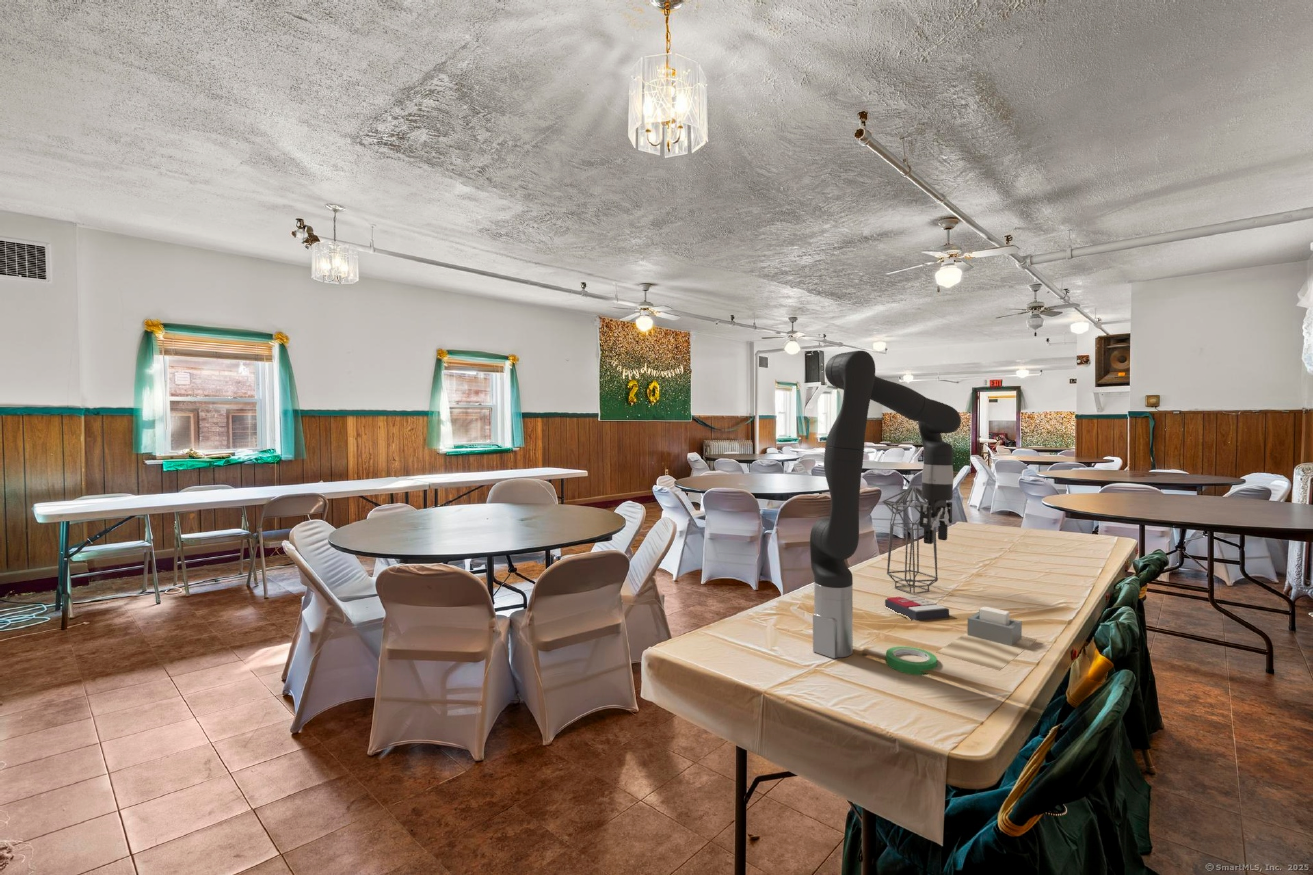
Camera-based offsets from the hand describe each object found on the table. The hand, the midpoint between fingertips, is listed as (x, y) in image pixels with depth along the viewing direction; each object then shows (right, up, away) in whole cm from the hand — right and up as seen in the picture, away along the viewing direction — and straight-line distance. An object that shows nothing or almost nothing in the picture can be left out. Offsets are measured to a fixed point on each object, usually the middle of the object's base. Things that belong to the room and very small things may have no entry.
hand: (935, 541), depth 156 cm
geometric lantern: (+13, -24, +42) cm, 50 cm away
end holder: (+13, -24, -4) cm, 28 cm away
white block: (+13, -23, -5) cm, 27 cm away
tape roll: (-15, -26, -18) cm, 35 cm away
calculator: (+2, -25, +17) cm, 30 cm away
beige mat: (+8, -25, -10) cm, 28 cm away
